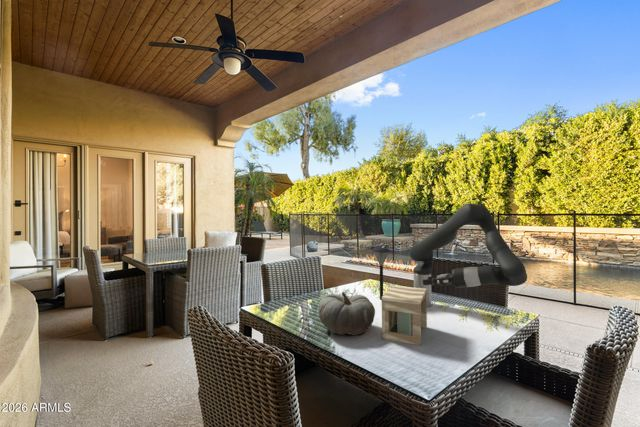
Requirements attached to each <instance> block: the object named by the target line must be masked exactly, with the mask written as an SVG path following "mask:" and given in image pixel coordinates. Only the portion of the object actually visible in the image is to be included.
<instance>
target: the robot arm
mask: <svg viewBox="0 0 640 427" xmlns="http://www.w3.org/2000/svg"><path fill="white" fill-rule="evenodd" d="M466 225H472V226H478V227H480V229H481V230H482V231H483V233H484V235H485V238H484V240H485V241H484V243H485V244H484V245H485V246H486V249H487V251H488V252H489V254H490V255H491V257H492V258H493V260H494V261H495V262H496V263H497V264H498V265H499V267H500V268H497V267H496V268H495V267H494V266H493V265H484V266H468V267H460V268H459V267H457V268H453V269H452V270H451V273H442V274H441V273H440V274H438V275H433V276H432V270H433V264H434V251H436V250H438V249H439V250H440V249H441V248H444V247H446V246H448V245H450V244H451V243H452V242H453V241H454V240H456V238H457V236H458V230H459V229H460V228H462V227H464V226H466ZM409 257H410V258H411V260H413V261H415V262H419V264H417V265H416V266H414V267H413V288H423V289H427V308H428V307H431V306H432V286H435V287H436V286H444V285H445V286H446V285H451V284H452V283H453V284H454V287H455V288H457V289H459V288H460V289H461V288H471V287H473V288H474V287H479V286H489V285H490V286H491V285H497V286H509V287H516V286H521V285H524V284H525V283H526V282H527V280H528V273H527V270H526V267H525V265H524V264H523V262H522V260H521V259H520V258H519V257H518V256H517V255H516V254H515V253H514V252H513V250H512V249H511V247H510V246H509V245H508V244H507V242H506V240H505V238H503V236H502V235H501V233H500V231H499V229H498V226H497V224H496V222H495V221H494V218H493V215H492V214H491V212H490V210H489V209H488V207H487V206H485V205H482V204H476V203H472V202H471V203H470V202H468V203H465V204H463V205H461V207H459V208H458V209H457V211H455V213H453V215H452V216H450V217H449V218H448V219H447V220H446V221H444V222H443V223H442V224H441V225H440V226H438V227H437V228H435V229H434V230H433V231H432V232H431V233H429V235H427V236H425V237H424V238H423V239H422V240H420V241H417V243H415V244H413V245H412V246H411V247H410V250H409Z"/></svg>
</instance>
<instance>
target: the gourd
mask: <svg viewBox="0 0 640 427" xmlns="http://www.w3.org/2000/svg"><path fill="white" fill-rule="evenodd" d="M317 310H318V318H319V320H320V321H321V324H323V326H324V327H326V328H327V329H328V330H329V331H330V332H331V333H333V334H336V335H346V334H349V335H350V336H351V335H352V336H355V335H360V334H364V333H365V332H366V331H367V330H369V329H370V327H371V326H372V325H373V322H374V320H375V316H376V308H375V307H374V304H373V303H372V302H371V301H370V299H369V298H368V297H366V296H365V295H362V294H354V295H350V296H347V295H346V293H345V292H344V291H343V292H341V295H340V294H337V293H327V294H325V295H324V296H322V298H321V300H320V301H319V303H318V309H317Z"/></svg>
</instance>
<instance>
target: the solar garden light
mask: <svg viewBox="0 0 640 427" xmlns="http://www.w3.org/2000/svg"><path fill="white" fill-rule="evenodd" d="M371 252H372V253H374V256H375V258H376V260H377V263H378V265H379V300H381V301H382V296H383V295H384V264H385V261H386V259H387V257H388V255H389V253H391V252H392V250H391V249H390V248H387V247H381V246H377V247H375V248H373V249H371V250H370V253H371Z"/></svg>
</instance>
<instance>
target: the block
mask: <svg viewBox="0 0 640 427" xmlns="http://www.w3.org/2000/svg"><path fill="white" fill-rule="evenodd" d="M396 325H397V328H396V330H397V331H396V333H402V334H409V335H412V334H411V333H412V326H411V313H403V312H397V324H396Z"/></svg>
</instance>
